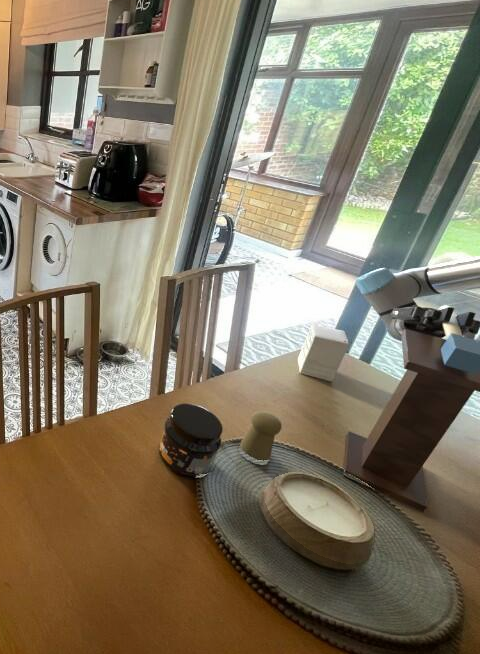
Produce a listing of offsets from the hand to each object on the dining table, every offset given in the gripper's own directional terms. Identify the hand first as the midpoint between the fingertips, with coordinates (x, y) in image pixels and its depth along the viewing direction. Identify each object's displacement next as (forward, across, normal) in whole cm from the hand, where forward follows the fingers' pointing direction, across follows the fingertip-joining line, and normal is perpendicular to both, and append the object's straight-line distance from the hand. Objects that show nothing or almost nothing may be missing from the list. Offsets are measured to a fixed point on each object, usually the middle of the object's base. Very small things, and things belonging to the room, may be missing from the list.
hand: (459, 316), depth 77 cm
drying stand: (-10, 0, -34) cm, 35 cm away
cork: (+1, +21, -41) cm, 46 cm away
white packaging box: (-37, +14, -18) cm, 44 cm away
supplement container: (+11, +32, -46) cm, 58 cm away
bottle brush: (0, 0, -4) cm, 5 cm away
